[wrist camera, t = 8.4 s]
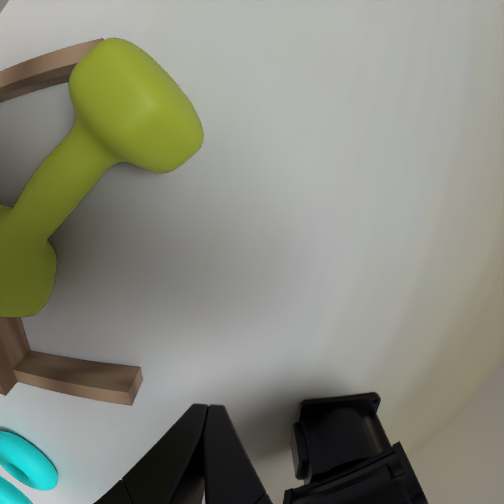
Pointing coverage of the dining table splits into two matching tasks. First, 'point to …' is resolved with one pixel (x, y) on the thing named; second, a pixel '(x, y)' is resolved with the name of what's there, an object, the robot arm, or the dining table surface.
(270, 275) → the dining table surface
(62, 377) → the walnut corral
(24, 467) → the donuts
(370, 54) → the dining table surface
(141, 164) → the dumbbell
